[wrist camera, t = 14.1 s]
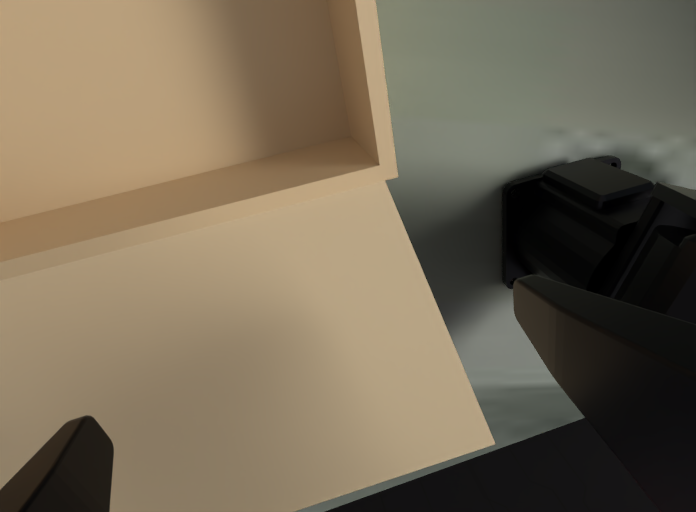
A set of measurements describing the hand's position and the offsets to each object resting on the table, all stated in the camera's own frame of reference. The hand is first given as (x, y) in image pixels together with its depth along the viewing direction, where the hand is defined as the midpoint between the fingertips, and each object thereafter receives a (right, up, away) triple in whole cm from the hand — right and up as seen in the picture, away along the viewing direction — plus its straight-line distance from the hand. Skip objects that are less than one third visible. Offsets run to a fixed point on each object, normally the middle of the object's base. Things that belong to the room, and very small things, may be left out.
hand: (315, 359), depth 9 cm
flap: (-5, -1, +4) cm, 7 cm away
